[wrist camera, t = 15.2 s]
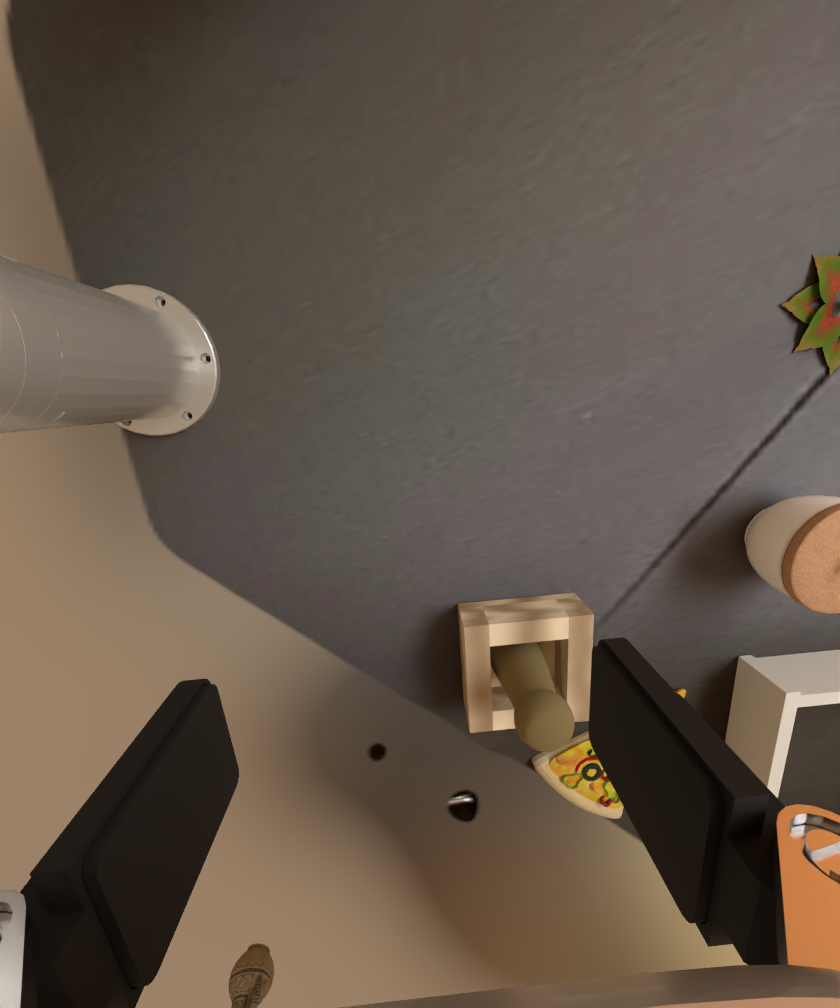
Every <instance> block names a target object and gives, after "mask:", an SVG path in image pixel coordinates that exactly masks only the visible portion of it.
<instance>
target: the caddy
mask: <svg viewBox="0 0 840 1008" xmlns="http://www.w3.org/2000/svg"><path fill="white" fill-rule="evenodd" d="M458 617H459V633H460V649H461V665H462V681H463V697H464V705H465V710H466V715H467V720H468V725H469V730H470V733H474V732H484V731H493V730H503V729H513V728H515V724H514V707H513V705H512V703H511V701H510V700H509V698H508V696H507V694H506V692H505V690H504V689H503V687H502V685H501V683H500V681H499V680H498V678H497V676H496V674H495V672H494V670H493V669H492V667H491V662H490V646H501V645H511V644H521V643H531V642H539V643H540V646H541V648H542V651H543V654H544V657H545V660H546V663H547V666H548V669H549V672H550V675H551V678H552V681H553V684H554V687H555V690H556V693H558V694H559V695H560V696H561V697H562V698H563V699H564V700H565V701H566V702H567V703H568V705H569V706H570V708H571V711H572V713H573V716H574V722H581V721H589V707H590V683H591V660H592V646H593V623H594V614H593V613H592V612H591V611H590V610H589V608H588V607H587V606H586V605H585V604H584V603H583V602H582V600H581V599H580V598H579V597H578V596H577V595H576V594H575V593H566V594H555V595H545V596H534V597H524V598H514V599H503V600H493V601H482V602H472V603H461V604H458Z"/></svg>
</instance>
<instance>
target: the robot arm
mask: <svg viewBox="0 0 840 1008" xmlns="http://www.w3.org/2000/svg"><path fill="white" fill-rule="evenodd" d="M164 300H165V301H166V302H165V306H163V304H162V302H163V301H164ZM208 356H210V357H211V361H210V362H208V361H207V357H208ZM219 384H220V365H219V358H218V354H217V351H216V348H215V345H214V342H213V340H212V338H211V336H210V334H209V333H208V331H207V329H206V327H205V326H204V325H203V323H202V322H201V321H200V320H199V318H198V317H197V316H196V315H195V314H194V313H193V312H192V311H191V310H190V309H189V308H188V307H187V306H186V305H184V304H183V303H181V302H180V301H178V300H177V299H175V298H174V297H172V296H170V295H168V294H166V293H164V292H161V291H159V290H156V289H153V288H150V287H147V286H141V285H133V284H126V285H115V286H112V287H109V288H105V289H102V290H100V289H97V288H94V287H91V286H88V285H85V284H83V283H80V282H77V281H74V280H71V279H68V278H65V277H63V276H60V275H56V274H54V273H51V272H48V271H46V270H42V269H39V268H37V267H34V266H31V265H28V264H25V263H23V262H20V261H17V260H14V259H11V258H8V257H6V256H3V255H0V433H5V432H16V431H26V430H38V429H48V428H59V427H70V426H80V425H92V424H102V423H114V424H116V425H118V426H120V427H121V428H124V429H126V430H129V431H132V432H134V433H139V434H144V435H168V434H174V433H177V432H181V431H184V430H186V429H188V428H190V427H192V426H194V425H195V424H196V423H198V422H199V421H200V420H201V419H202V418H203V417H204V416H205V415H206V414H207V413H208V411H209V410H210V409H211V407H212V405H213V403H214V401H215V399H216V396H217V393H218V389H219ZM189 413H191V414H192V418H190V417H189ZM129 421H131V423H130V422H129ZM588 732H589V739H590V743H591V746H592V748H593V751H594V752H595V754H596V756H597V758H598V760H599V762H600V764H601V765H602V767H603V769H604V771H605V773H606V775H607V777H608V778H609V780H610V782H611V784H612V786H613V788H614V789H615V791H616V793H617V795H618V797H619V799H620V801H621V802H622V804H623V806H624V808H625V810H626V812H627V814H628V815H629V817H630V819H631V821H632V823H633V825H634V827H635V828H636V830H637V832H638V834H639V836H640V838H641V840H642V841H643V843H644V845H645V847H646V849H647V851H648V853H649V854H650V856H651V858H652V860H653V862H654V864H655V865H656V867H657V869H658V871H659V873H660V875H661V877H662V878H663V880H664V882H665V884H666V886H667V888H668V889H669V891H670V893H671V895H672V897H673V899H674V901H675V903H676V904H677V906H678V908H679V910H680V911H681V913H682V915H683V916H684V918H685V919H686V920H687V921H688V922H689V923H696V925H697V927H698V929H699V930H700V932H701V934H702V936H703V938H704V939H705V941H706V943H707V945H708V946H718V945H726V944H733V945H734V946H735V948H736V950H737V952H738V953H739V955H740V956H741V958H742V960H743V962H745V963H746V964H748V965H741V966H740V965H737V966H725V967H714V968H701V969H690V970H678V971H666V972H655V973H643V974H633V975H624V976H615V977H606V978H597V979H588V980H578V981H569V982H561V983H551V984H542V985H534V986H524V987H515V988H505V989H496V990H488V991H479V992H470V993H461V994H453V995H444V996H435V997H428V998H418V999H409V1000H401V1001H392V1002H384V1003H376V1004H368V1005H358V1006H350V1007H342V1008H840V816H838V815H836V814H834V813H832V812H830V811H827V810H824V809H821V808H817V807H814V806H808V805H799V804H796V805H792V806H787V807H785V806H784V805H783V804H782V803H781V802H780V801H779V799H778V798H777V797H776V796H775V795H774V794H773V793H772V792H771V791H770V790H769V789H768V788H767V787H766V786H765V784H764V783H763V782H762V781H761V780H760V779H759V778H758V777H757V776H756V775H755V774H754V773H753V772H752V770H751V769H750V768H749V767H748V766H747V765H746V764H745V763H744V762H743V761H742V760H741V759H740V758H739V757H738V755H737V754H736V753H735V752H734V751H733V750H732V749H731V748H730V747H729V746H728V745H727V744H726V743H725V742H724V740H723V739H722V738H721V737H720V736H719V735H718V734H717V733H716V732H715V731H714V730H713V729H712V728H711V727H710V725H709V724H708V723H707V722H706V721H705V720H704V719H703V718H702V717H701V716H700V715H699V714H698V713H697V711H696V710H695V709H694V708H693V707H692V706H691V705H690V704H689V703H688V702H687V701H686V700H685V699H684V698H683V697H682V696H681V695H680V694H678V693H676V692H675V691H674V690H673V689H672V688H671V687H670V686H669V685H668V683H667V682H666V681H665V680H664V679H663V678H662V677H661V676H660V675H659V674H658V673H657V672H656V670H655V669H654V668H653V667H652V666H651V665H650V664H649V663H648V662H647V661H646V660H645V659H644V657H643V656H642V655H641V654H640V653H639V652H638V651H637V650H636V649H635V648H634V647H633V646H632V644H631V643H630V642H629V641H628V640H627V639H625V638H613V639H603V640H600V641H599V643H598V646H595V647H593V649H592V660H591V683H590V707H589V730H588ZM238 778H239V769H238V765H237V761H236V757H235V753H234V749H233V745H232V742H231V738H230V734H229V731H228V727H227V723H226V719H225V715H224V711H223V708H222V704H221V700H220V696H219V693H218V689H217V687H216V685H213V684H211V683H210V682H209V680H208V679H198V680H188V681H182V682H179V683H178V685H176V687H175V688H174V689H173V691H172V692H171V693H170V694H169V696H168V697H167V698H166V700H165V701H164V702H163V703H162V705H161V706H160V707H159V709H158V710H157V711H156V712H155V714H154V715H153V716H152V718H151V719H150V720H149V721H148V723H147V724H146V725H145V727H144V728H143V729H142V731H141V732H140V733H139V734H138V736H137V737H136V738H135V740H134V741H133V742H132V743H131V745H130V746H129V747H128V749H127V750H126V751H125V752H124V754H123V755H122V756H121V757H120V759H119V760H118V761H117V763H116V764H115V765H114V766H113V768H112V769H111V770H110V772H109V773H108V774H107V776H106V777H105V778H104V779H103V781H102V782H101V783H100V784H99V786H98V787H97V788H96V790H95V791H94V792H93V793H92V795H91V796H90V797H89V799H88V800H87V801H86V803H85V804H84V805H83V806H82V808H81V809H80V810H79V811H78V813H77V814H76V815H75V816H74V818H73V819H72V820H71V822H70V823H69V824H68V826H67V827H66V828H65V829H64V831H63V832H62V833H61V834H60V836H59V837H58V839H57V840H56V841H55V842H54V844H53V845H52V846H51V847H50V849H49V850H48V851H47V853H46V854H45V855H44V856H43V858H42V859H41V860H40V861H39V863H38V864H37V865H36V867H35V868H34V869H33V870H32V872H31V873H30V875H31V879H30V880H29V881H28V883H27V884H26V885H25V886H24V888H23V889H22V890H21V892H20V893H19V892H18V891H15V890H10V891H9V890H8V891H7V890H6V891H0V1008H135V1006H136V1004H137V1002H138V999H139V997H140V995H141V993H142V990H143V988H144V986H146V985H149V984H150V983H151V982H152V981H153V979H154V978H155V976H156V975H157V972H158V970H159V968H160V966H161V963H162V961H163V959H164V956H165V954H166V952H167V949H168V947H169V945H170V942H171V940H172V937H173V935H174V933H175V931H176V928H177V926H178V923H179V921H180V919H181V916H182V914H183V912H184V909H185V907H186V905H187V902H188V900H189V897H190V895H191V893H192V890H193V888H194V886H195V883H196V881H197V879H198V876H199V874H200V872H201V869H202V867H203V864H204V862H205V860H206V857H207V855H208V853H209V850H210V848H211V846H212V843H213V841H214V838H215V836H216V833H217V831H218V829H219V826H220V824H221V822H222V819H223V817H224V815H225V812H226V810H227V808H228V805H229V803H230V801H231V798H232V796H233V794H234V791H235V789H236V786H237V783H238Z"/></svg>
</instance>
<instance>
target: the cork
mask: <svg viewBox="0 0 840 1008" xmlns="http://www.w3.org/2000/svg"><path fill="white" fill-rule="evenodd" d="M490 662H491V667H492V669H493V670H494V672H495V674H496V676H497V678H498V680H499V681H500V683H501V685H502V687H503V689H504V690H505V692H506V694H507V696H508V698H509V700H510V701H511V703H512V705H513V707H514V724H515V728H516V730H517V732H518V734H519V736H520V738H521V739H522V741H523V742H525V743H526V744H527V745H528V746H529V747H531V748H533V749H535V750H537V751H543V752H548V751H554V750H557V749H559V748H561V747H563V746H564V745H565V744H567V743H568V741H569V740H570V739H571V737H572V735H573V732H574V716H573V713H572V711H571V708H570V706H569V705H568V703H567V702H566V701H565V700H564V699H563V698H562V697H561V696H560V695H559V694H558V693H556V690H555V687H554V684H553V681H552V678H551V675H550V672H549V669H548V666H547V663H546V660H545V657H544V654H543V651H542V648H541V646H540V643H539V642H531V643H521V644H511V645H501V646H490Z"/></svg>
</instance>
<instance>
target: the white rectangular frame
mask: <svg viewBox="0 0 840 1008" xmlns="http://www.w3.org/2000/svg"><path fill="white" fill-rule="evenodd" d="M835 703H840V650H830V651H821V652H811V653H801V654H791V655H781V656H771V657H761V658H755V657H753V656H752V655H746V656H739V658H738V665H737V671H736V677H735V683H734V689H733V696H732V702H731V708H730V714H729V720H728V727H727V733H726V739H725V743H726V744H727V745H728V746H729V747H730V748H731V749H732V750H733V751H734V752H735V753H736V754H737V755H738V757H739V758H740V759H741V760H742V761H743V762H744V763H745V764H746V765H747V766H748V767H749V768H750V769H751V770H752V772H753V773H754V774H755V775H756V776H757V777H758V778H759V779H760V780H761V781H762V782H763V783H764V784H765V786H766V787H767V788H768V789H769V790H770V791H771V792H772V793H773V794H774V795H775V796H776V797H777V798H778V794H779V789H780V785H781V780H782V776H783V771H784V766H785V762H786V757H787V752H788V748H789V743H790V739H791V734H792V729H793V725H794V720H795V716H796V711H797V707H806V706H816V705H826V704H835Z"/></svg>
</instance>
